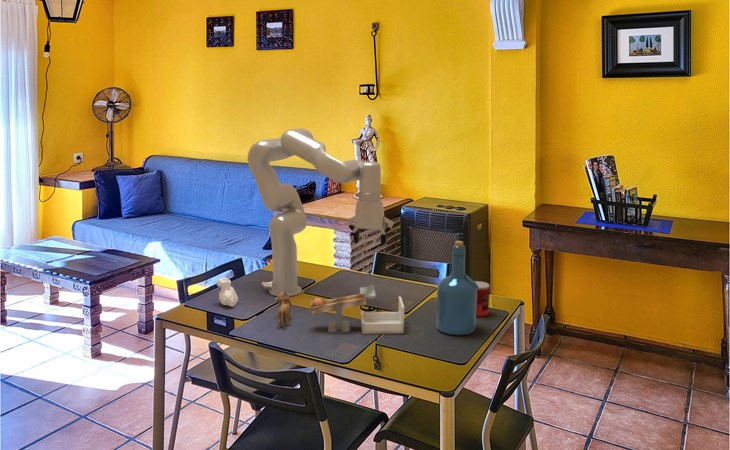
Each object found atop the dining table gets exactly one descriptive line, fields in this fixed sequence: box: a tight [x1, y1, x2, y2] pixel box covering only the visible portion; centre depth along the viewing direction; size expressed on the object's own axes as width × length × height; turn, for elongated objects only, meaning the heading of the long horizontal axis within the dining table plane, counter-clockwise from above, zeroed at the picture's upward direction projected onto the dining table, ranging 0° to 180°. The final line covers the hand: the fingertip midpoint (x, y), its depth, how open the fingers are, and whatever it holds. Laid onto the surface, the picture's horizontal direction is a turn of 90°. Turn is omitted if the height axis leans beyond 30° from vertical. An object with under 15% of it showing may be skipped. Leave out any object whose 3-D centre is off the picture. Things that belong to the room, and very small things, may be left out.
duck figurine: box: [216, 276, 239, 307], centre depth 221 cm, size 12×8×11 cm
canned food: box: [473, 280, 490, 318], centre depth 212 cm, size 8×8×11 cm
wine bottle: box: [435, 240, 479, 336], centre depth 196 cm, size 14×13×30 cm
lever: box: [309, 284, 377, 315], centre depth 202 cm, size 22×16×3 cm
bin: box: [360, 296, 405, 335], centre depth 199 cm, size 14×11×9 cm
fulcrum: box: [327, 304, 351, 334], centre depth 198 cm, size 7×9×9 cm
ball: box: [313, 297, 324, 306], centre depth 197 cm, size 3×3×3 cm
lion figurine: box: [275, 292, 292, 330], centre depth 203 cm, size 15×5×9 cm, turn 11°
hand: (369, 243), depth 215 cm, fingers open, 9 cm apart
